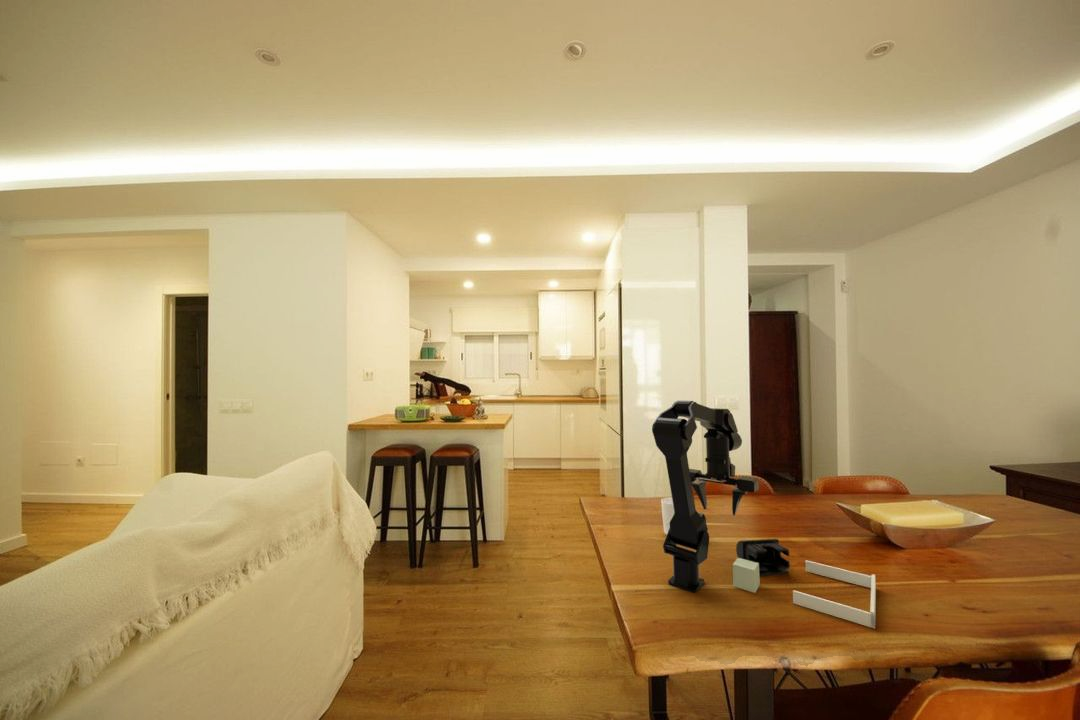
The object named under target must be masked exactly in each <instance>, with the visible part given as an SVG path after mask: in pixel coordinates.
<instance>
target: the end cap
mask: <svg viewBox="0 0 1080 720" xmlns="http://www.w3.org/2000/svg"><path fill="white" fill-rule="evenodd" d="M735 551H736V557H737V558H741V559H745V560H749V561H752V562H756V563H759V577H764V576H765V577H767V576H777V575H779V576H781V575H789V573H790V571H789V570H788V569H790V566H791V565H790V564H791V563H790V561H789V560H788V559H787V558H785V557H783V556H782V554H783V555H785V556H787V557H790V551H789V548H787V547H785V546H784V545H783V546H782V545H781V544H780V541H779V539H777V538H766V539H765V538H764V539H763V538H762V539H747V540H739V541H738V542H737V543H736V545H735Z"/></svg>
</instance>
